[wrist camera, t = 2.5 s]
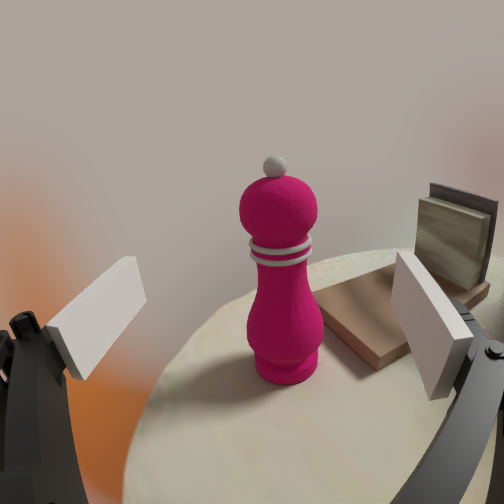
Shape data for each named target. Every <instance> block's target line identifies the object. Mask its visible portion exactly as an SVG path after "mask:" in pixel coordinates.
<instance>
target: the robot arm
mask: <svg viewBox="0 0 504 504" xmlns="http://www.w3.org/2000/svg"><path fill="white" fill-rule="evenodd" d="M146 301H147V300H146V296H145V293H144V289H143V285H142V281H141V277H140V274H139V269H138V266H137V261H136V257H135V256H124V257H122V258H121V259H120V260H119V261H118V262H116V263H115V264H114V265H113V266H111V268H109V269H108V270H107V271H106V272H104V273H103V274H102V275H101V276H100V277H98V278H97V279H96V280H95V281H94V282H93V283H92V284H90V285H89V286H88V287H87V288H86V289H85V290H84V291H82V292H81V293H80V294H79V295H78V296H77V297H76V298H75V299H73V300H72V301H71V302H70V303H69V304H68V305H67V306H66V307H65V308H64V309H63V310H61V311H60V312H59V313H58V314H57V315H56V316H55V317H54V318H53V319H52V320H51V321H49V322H48V323H47V324H46V325H45V326H44V327H43V328H42V329H40V327H39V324H38V322H37V320H36V318H35V316H34V313H33V312H32V311H26V312H22V313H19V314H18V315H16V316H14V317H13V318H12V319H11V320H10V322H9V325H10V327H11V329H12V331H13V333H14V335H15V337H16V339H11V337H10V335H9V333H8V331H6V330H1V331H0V369H2V371H3V373H4V374H5V376H6V377H7V380H6V382H5V381H4V380H3V379H2V377H1V376H0V504H89V503H88V500H87V497H86V493H85V490H84V486H83V482H82V478H81V474H80V470H79V465H78V461H77V456H76V451H75V446H74V441H73V435H72V428H71V422H70V415H69V407H68V398H67V387H66V378H65V375H64V374H63V370H64V369H65V368H66V367H67V369H68V371H69V372H70V374H71V376H72V377H73V378H76V379H79V380H83V381H85V380H86V378H87V377H88V376H89V374H90V373H91V372H92V370H93V369H94V368H95V366H96V365H97V364H98V362H99V361H100V360H101V358H102V357H103V356H104V355H105V353H106V352H107V351H108V349H109V348H110V347H111V345H112V344H113V343H114V342H115V340H116V339H117V338H118V336H119V335H120V334H121V332H122V331H123V330H124V329H125V328H126V326H127V325H128V324H129V322H130V321H131V320H132V319H133V317H134V316H135V315H136V313H137V312H138V311H139V310H140V308H141V307H142V306H143V305H144V304H145V303H146ZM390 302H391V304H392V306H393V308H394V311H395V313H396V315H397V317H398V320H399V322H400V325H401V327H402V329H403V332H404V334H405V337H406V339H407V341H408V344H409V346H410V349H411V352H412V354H413V357H414V359H415V362H416V365H417V367H418V370H419V373H420V375H421V378H422V381H423V384H424V387H425V389H426V392H427V395H428V398H429V401H430V400H436V399H441V398H446V397H448V395H449V393H450V391H451V389H452V387H453V386H454V388H455V391H456V393H457V394H456V396H455V398H454V400H453V402H452V404H451V406H450V407H449V409H448V411H447V414H446V416H445V418H444V420H443V422H442V424H441V426H440V428H439V430H438V431H437V433H436V435H435V437H434V438H433V440H432V442H431V444H430V445H429V447H428V449H427V450H426V452H425V454H424V455H423V457H422V458H421V460H420V462H419V463H418V465H417V466H416V468H415V469H414V471H413V472H412V474H411V475H410V477H409V478H408V480H407V481H406V482H405V484H404V485H403V487H402V488H401V489H400V491H399V492H398V493H397V495H396V496H395V497H394V499H393V500H392V501H391V502H390V504H459V502H460V501H461V499H462V497H463V495H464V493H465V491H466V489H467V487H468V485H469V483H470V481H471V479H472V477H473V475H474V473H475V470H476V468H477V466H478V464H479V461H480V459H481V457H482V454H483V452H484V449H485V447H486V444H487V441H488V439H489V436H490V433H491V430H492V427H493V424H494V421H495V418H496V415H497V412H498V419H497V434H496V444H495V453H494V461H493V468H492V474H491V480H490V485H489V490H488V495H487V499H486V503H485V504H504V344H503V343H501V342H499V341H497V340H492V339H490V340H489V339H488V337H487V336H486V334H485V333H484V331H483V330H482V328H481V327H480V326H479V324H478V323H477V321H476V320H475V319H474V317H473V316H472V314H470V312H469V310H468V309H467V308H466V306H465V305H464V304H462V303H461V302H460V301H458V300H457V299H448V298H447V296H446V295H445V293H444V292H443V291H442V289H441V288H440V287H439V285H438V284H437V283H436V281H435V280H434V279H433V277H432V276H431V275H430V273H429V272H428V271H427V270H426V268H425V267H424V266H423V265H422V263H421V262H420V261H419V259H418V258H417V257H416V256H415V255H414V253H413V252H412V251H397V257H396V265H395V273H394V281H393V288H392V295H391V301H390Z"/></svg>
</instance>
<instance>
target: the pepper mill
mask: <svg viewBox="0 0 504 504" xmlns="http://www.w3.org/2000/svg"><path fill="white" fill-rule="evenodd" d="M263 170H264V172H265V174H266V175H267V176H268V177H265V178H261V179H259V180H257V181H255V182H254V183H252V184H251V185H249V186H248V187H247V189H246V190H245V191H244V193H243V195H242V197H241V200H240V206H239V214H240V220H241V223H242V225H243V227H244V228H245V230H246V231H247V232H248V233H249V234H251V236H252V238H251V239H250V241H249V246H250V247H251V251H250V256H251V258H252V259H253V260H254V261H255V262H256V263H257V269H258V288H257V294H256V297H255V300H254V303H253V305H252V308H251V310H250V313H249V316H248V321H247V340H248V343H249V345H250V347H251V348H252V349H253V351H254V352H255V363H256V369H257V371H258V373H259V374H260V375H261V376H262V377H263V378H264V379H266V380H268V381H269V382H272V383H275V384H282V385H288V384H296V383H299V382H301V381H304V380H305V379H307V378H308V377H310V376H311V375H312V374H313V372H314V371H315V370H316V367H317V360H318V347H319V346H320V344H321V342H322V340H323V337H324V324H323V318H322V315H321V311H320V309H319V307H318V304H317V302H316V300H315V298H314V296H313V294H312V292H311V290H310V287H309V283H308V280H307V269H306V266H307V259H308V258H309V257H310V256H311V254H312V248H311V243H312V238H311V236H310V235H309V234H308V231H309V230H310V229H311V228H312V227H313V225H314V223H315V222H316V219H317V211H318V210H317V202H316V198H315V196H314V193H313V192H312V190H311V188H310V187H309V186H308V185H307V184H305V182H303V181H301V180H299V179H297V178H294V177H290V176H284V175H285V173H286V170H287V165H286V162H285V160H284V159H283V158H281V157H279V156H271V157H269V158H267V159H266V161H265V162H264V164H263Z"/></svg>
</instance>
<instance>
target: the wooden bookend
mask: <svg viewBox="0 0 504 504" xmlns="http://www.w3.org/2000/svg"><path fill="white" fill-rule="evenodd" d="M497 209H498V200H495V199H492V198H488V197H485V196H482V195H478V194H475V193H471V192H467V191H464V190H460V189H456V188H452V187H449V186H445V185H441V184H436V183H430V196H429V197H427V198H422V199H419V208H418V223H417V234H416V244H415V253H414V255H415V256H416V257H417V258H418V259H419V261H420V262H421V263H422V265H423V266H424V267H425V268H426V270H427V271H428V272H429V273H430V275H431V276H432V277H433V279H434V280H435V281H436V283H437V284H438V285H439V287H440V288H441V289H442V291H443V292H444V293H445V295H446V296H447V298H448V299H457V300H458V301H460V302H461V303H462V304H464V305H465V306H466V308H467V309H468V310H470V309H471V308H472V307H474V306H475V305H476V304H477V303H479V302H480V301H481V300H482V299H484V298H485V297H486V296H487V295H488V291H489V287H490V284H491V283H489V282H487V281H485V276H486V272H487V268H488V263H489V258H490V253H491V248H492V243H493V237H494V231H495V224H496V217H497ZM395 265H396V263H394V264H391V265H389V266H386V267H383V268H381V269H378V270H375V271H372V272H370V273H367V274H364V275H361V276H359V277H356V278H353V279H350V280H347V281H344V282H341V283H338V284H336V285H333V286H330V287H327V288H324V289H321V290H318V291H315V292H312V294H313V296H314V298H315V300H316V302H317V304H318V307H319V309H320V311H321V315H322V318H323V323H324V324H325V325H327V326H328V327H329V328H330V329H331V330H332V331H333V332H334V333H335V334H336V335H337V336H338V337H340V338H341V339H342V340H343V341H344V342H345V343H346V344H347V345H348V346H349V347H350V348H352V349H353V350H354V351H355V352H356V353H357V354H358V355H359V356H360V357H361V358H362V359H364V360H365V361H366V362H367V363H368V364H369V365H370V366H371V367H372V368H373V369H374V370H376V371H378V370H380V369H382V368H384V367H385V366H387V365H389V364H391V363H392V362H394V361H396V360H397V359H399V358H401V357H402V356H404V355H405V354H407V353H409V352H410V351H411V349H410V346H409V344H408V341H407V339H406V337H405V334H404V332H403V329H402V327H401V325H400V322H399V320H398V317H397V315H396V313H395V311H394V308H393V306H392V304H391V302H390V301H391V295H392V288H393V281H394V273H395Z"/></svg>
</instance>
